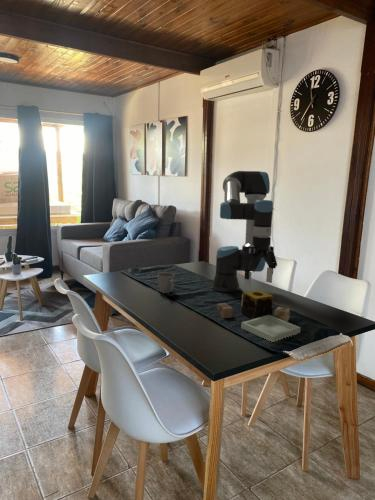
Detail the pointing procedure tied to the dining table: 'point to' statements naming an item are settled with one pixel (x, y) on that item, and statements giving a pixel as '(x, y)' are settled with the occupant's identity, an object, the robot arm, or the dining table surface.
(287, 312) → the oak block
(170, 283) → the mug
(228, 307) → the walnut block
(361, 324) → the dining table surface
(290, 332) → the tray
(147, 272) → the dining table surface
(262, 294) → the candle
